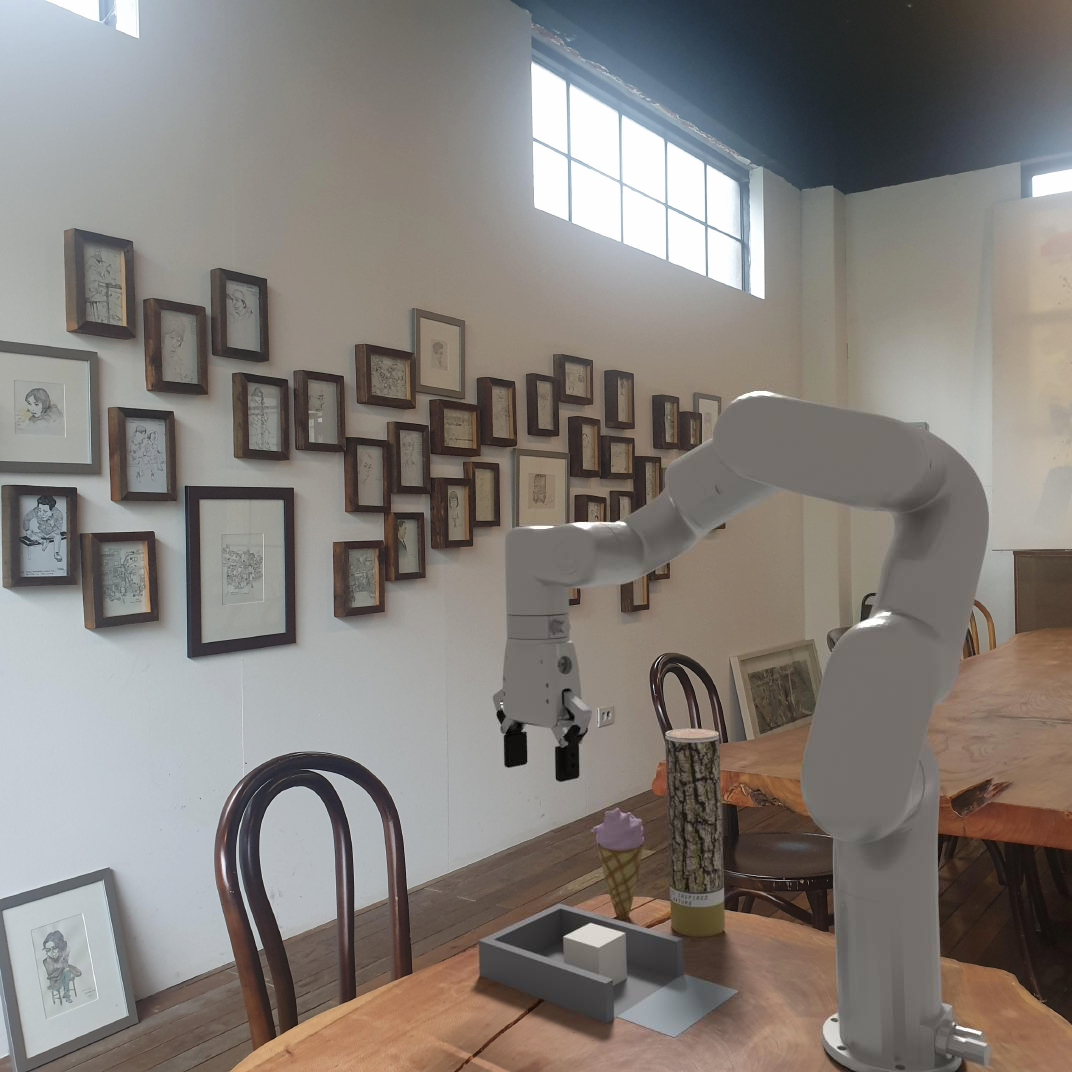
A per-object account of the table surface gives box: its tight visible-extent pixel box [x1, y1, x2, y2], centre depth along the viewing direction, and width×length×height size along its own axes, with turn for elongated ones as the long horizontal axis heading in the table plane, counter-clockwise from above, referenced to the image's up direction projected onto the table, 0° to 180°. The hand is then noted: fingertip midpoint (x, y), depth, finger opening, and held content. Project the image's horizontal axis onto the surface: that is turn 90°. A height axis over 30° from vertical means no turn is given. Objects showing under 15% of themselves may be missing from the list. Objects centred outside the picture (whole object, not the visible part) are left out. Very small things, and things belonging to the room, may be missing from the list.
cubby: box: [478, 903, 740, 1039], centre depth 108 cm, size 25×14×4 cm, turn 49°
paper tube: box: [664, 728, 726, 938], centre depth 123 cm, size 7×7×25 cm
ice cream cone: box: [590, 807, 645, 920], centre depth 128 cm, size 7×6×15 cm
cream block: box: [563, 923, 627, 986], centre depth 109 cm, size 5×5×5 cm
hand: (541, 772), depth 116 cm, fingers open, 9 cm apart
